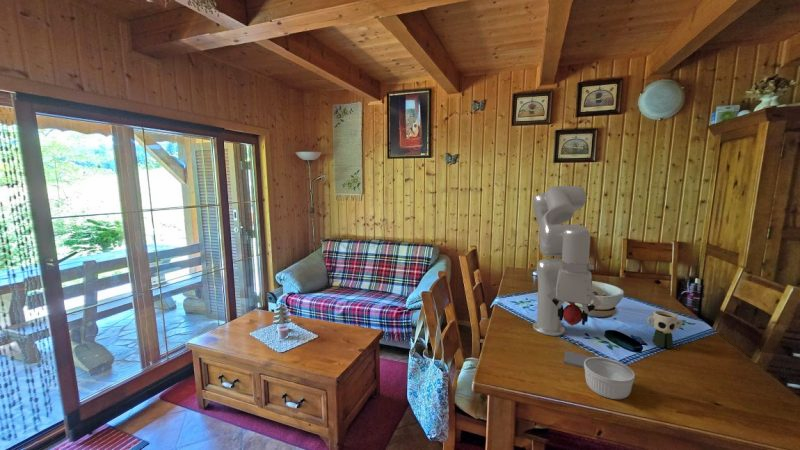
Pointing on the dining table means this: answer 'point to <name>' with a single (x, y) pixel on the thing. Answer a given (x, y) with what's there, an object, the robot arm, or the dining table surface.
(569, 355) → the coaster
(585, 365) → the ramekin
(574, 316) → the onion
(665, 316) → the character mug
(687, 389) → the dining table surface
